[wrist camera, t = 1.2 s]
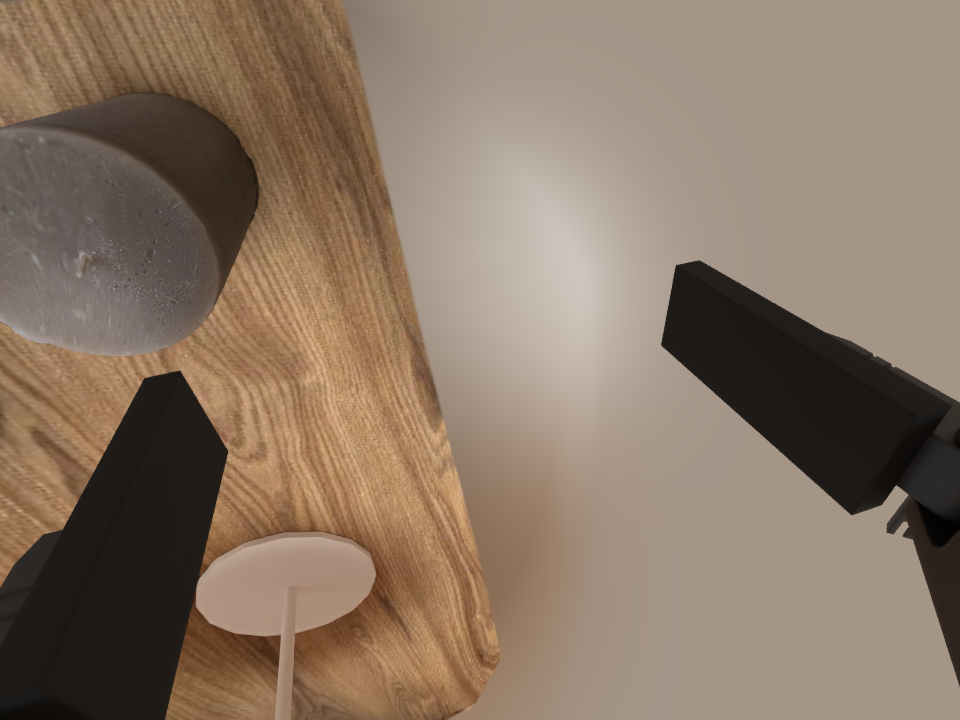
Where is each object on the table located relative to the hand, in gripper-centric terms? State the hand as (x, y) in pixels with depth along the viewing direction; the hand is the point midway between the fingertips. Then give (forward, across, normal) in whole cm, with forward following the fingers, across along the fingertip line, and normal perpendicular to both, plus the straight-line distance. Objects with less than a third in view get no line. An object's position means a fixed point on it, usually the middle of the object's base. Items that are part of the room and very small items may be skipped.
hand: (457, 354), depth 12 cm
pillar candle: (+25, -13, +1) cm, 28 cm away
